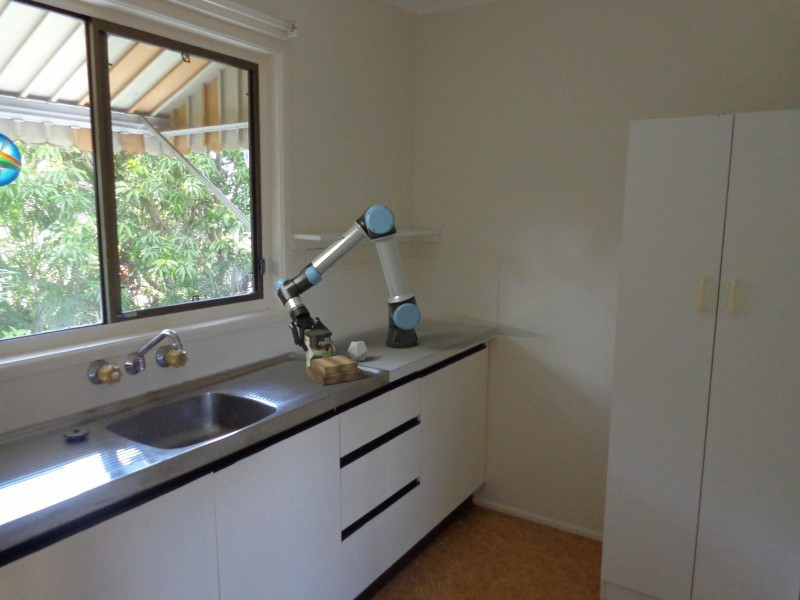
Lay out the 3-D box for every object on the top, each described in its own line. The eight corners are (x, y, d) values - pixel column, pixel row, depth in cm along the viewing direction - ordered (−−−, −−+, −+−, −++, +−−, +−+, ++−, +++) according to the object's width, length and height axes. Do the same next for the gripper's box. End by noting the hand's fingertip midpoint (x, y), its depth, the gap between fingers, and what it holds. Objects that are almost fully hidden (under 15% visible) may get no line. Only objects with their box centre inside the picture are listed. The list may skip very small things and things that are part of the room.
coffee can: (337, 365, 235) (336, 330, 233) (319, 371, 227) (317, 335, 224) (319, 361, 241) (317, 328, 239) (300, 367, 233) (299, 332, 231)
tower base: (344, 368, 230) (344, 353, 229) (363, 378, 216) (363, 362, 215) (306, 375, 222) (305, 359, 221) (323, 385, 208) (322, 369, 207)
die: (360, 365, 236) (372, 345, 237) (341, 355, 237) (354, 334, 238) (361, 367, 244) (373, 347, 245) (343, 357, 245) (355, 337, 246)
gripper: (315, 312, 250) (341, 354, 241) (270, 320, 233) (296, 365, 225) (323, 301, 245) (349, 343, 237) (277, 308, 229) (303, 354, 221)
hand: (323, 354), depth 231 cm, fingers closed on coffee can, 10 cm apart
